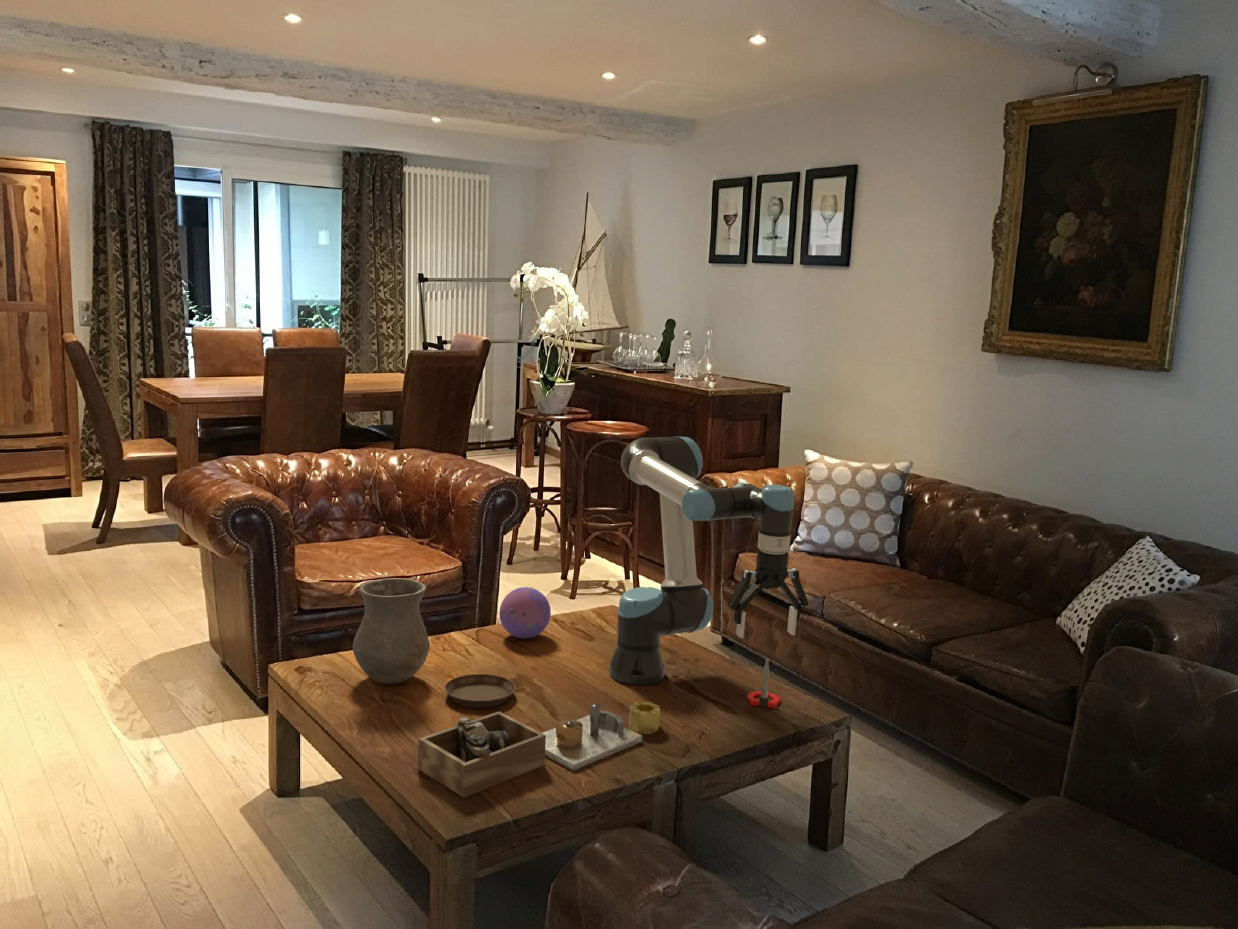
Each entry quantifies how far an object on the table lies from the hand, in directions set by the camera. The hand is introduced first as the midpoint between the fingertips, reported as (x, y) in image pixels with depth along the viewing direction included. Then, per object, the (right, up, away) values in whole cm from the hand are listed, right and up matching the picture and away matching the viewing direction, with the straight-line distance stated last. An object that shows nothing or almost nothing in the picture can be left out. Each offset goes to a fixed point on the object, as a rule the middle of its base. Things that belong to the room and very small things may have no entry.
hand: (765, 635), depth 247 cm
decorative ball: (-64, -10, +55) cm, 85 cm away
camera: (-65, -24, -27) cm, 74 cm away
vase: (-95, -15, +19) cm, 98 cm away
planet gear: (-30, -22, -2) cm, 37 cm away
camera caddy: (-65, -24, -26) cm, 74 cm away
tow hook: (+2, -20, +17) cm, 27 cm away
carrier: (-44, -23, -12) cm, 51 cm away
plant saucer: (-71, -18, +11) cm, 74 cm away
